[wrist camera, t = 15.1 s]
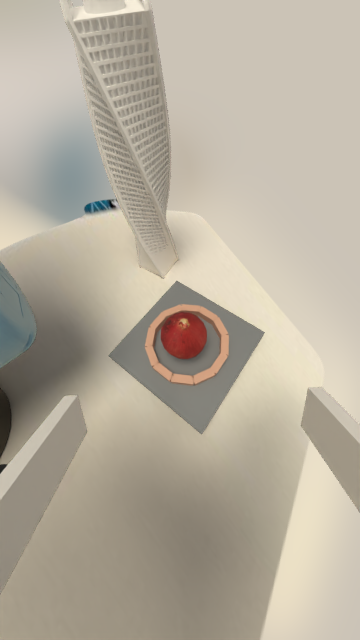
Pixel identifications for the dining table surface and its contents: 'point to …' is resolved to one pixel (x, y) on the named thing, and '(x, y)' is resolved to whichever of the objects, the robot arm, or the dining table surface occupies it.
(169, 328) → the red rounded fruit
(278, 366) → the dining table surface
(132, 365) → the dock
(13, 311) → the robot arm
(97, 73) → the skyscraper
